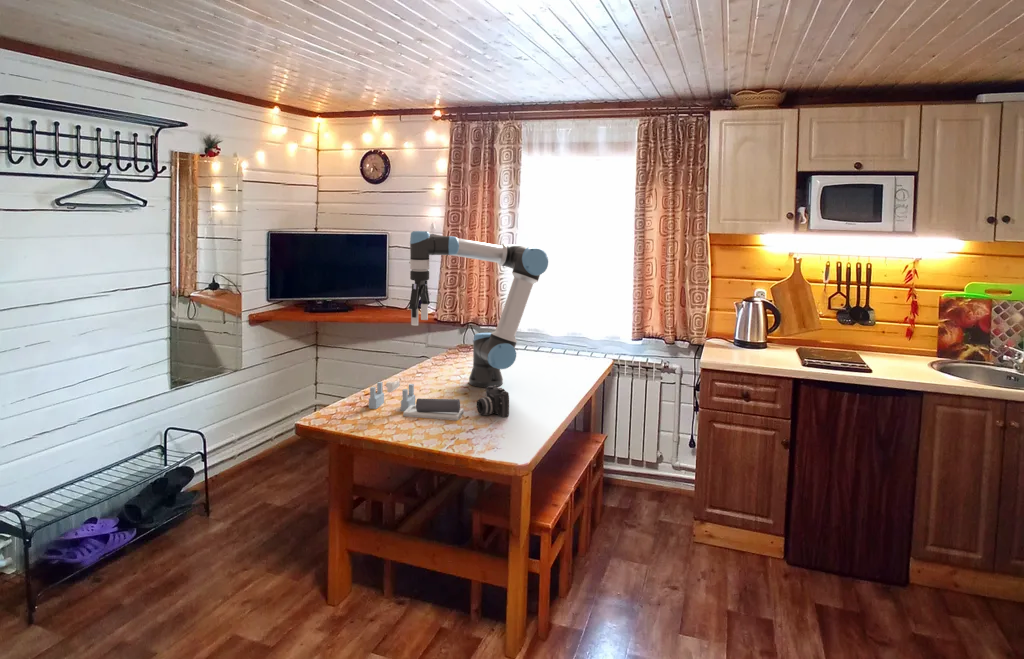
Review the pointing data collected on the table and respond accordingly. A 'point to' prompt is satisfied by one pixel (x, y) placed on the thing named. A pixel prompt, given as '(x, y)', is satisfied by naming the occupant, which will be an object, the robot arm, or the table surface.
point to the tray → (432, 414)
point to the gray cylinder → (438, 405)
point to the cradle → (378, 397)
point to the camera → (494, 402)
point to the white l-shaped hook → (392, 385)
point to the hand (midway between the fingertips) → (419, 322)
